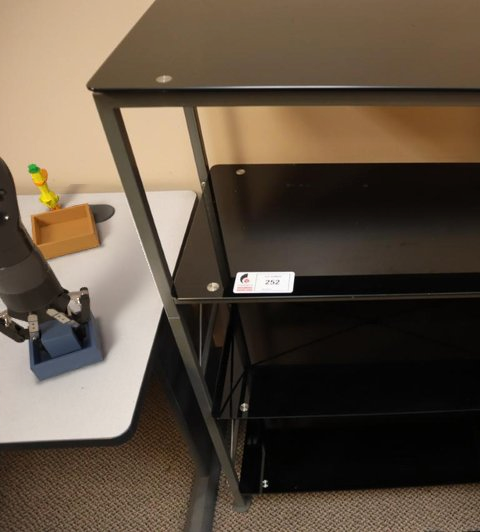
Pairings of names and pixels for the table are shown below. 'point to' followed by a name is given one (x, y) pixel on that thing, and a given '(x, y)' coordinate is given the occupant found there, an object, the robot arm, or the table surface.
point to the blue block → (58, 338)
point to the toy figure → (44, 187)
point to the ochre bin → (64, 230)
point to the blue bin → (55, 366)
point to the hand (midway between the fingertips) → (65, 342)
